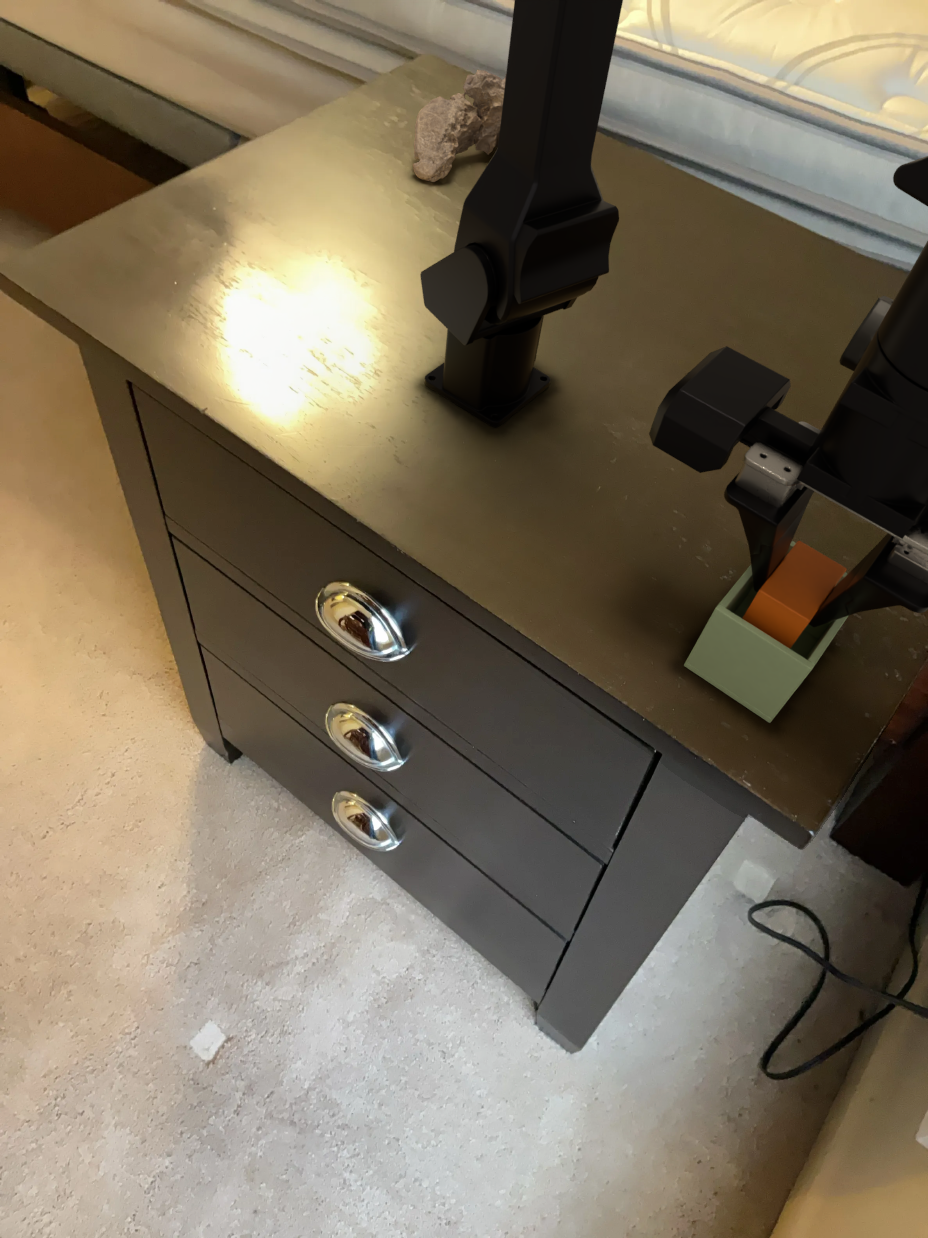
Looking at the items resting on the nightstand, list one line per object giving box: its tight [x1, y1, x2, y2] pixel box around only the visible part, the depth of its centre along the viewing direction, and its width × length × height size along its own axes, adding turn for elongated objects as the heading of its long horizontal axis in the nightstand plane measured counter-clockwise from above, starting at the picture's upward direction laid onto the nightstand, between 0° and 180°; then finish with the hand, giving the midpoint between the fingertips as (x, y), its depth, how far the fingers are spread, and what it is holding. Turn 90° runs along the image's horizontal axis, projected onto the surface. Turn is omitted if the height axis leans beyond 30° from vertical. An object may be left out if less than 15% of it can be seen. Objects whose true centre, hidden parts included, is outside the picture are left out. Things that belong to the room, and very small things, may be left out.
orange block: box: [742, 540, 847, 649], centre depth 44 cm, size 4×3×3 cm, turn 141°
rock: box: [412, 69, 506, 183], centre depth 75 cm, size 6×14×7 cm, turn 113°
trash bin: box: [683, 540, 849, 724], centre depth 46 cm, size 7×5×5 cm
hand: (787, 603), depth 45 cm, fingers closed on orange block, 3 cm apart
